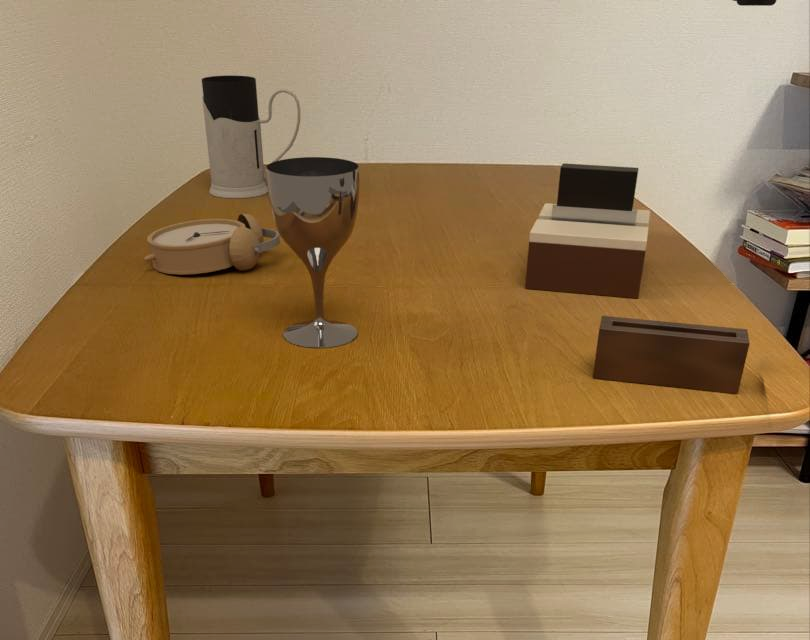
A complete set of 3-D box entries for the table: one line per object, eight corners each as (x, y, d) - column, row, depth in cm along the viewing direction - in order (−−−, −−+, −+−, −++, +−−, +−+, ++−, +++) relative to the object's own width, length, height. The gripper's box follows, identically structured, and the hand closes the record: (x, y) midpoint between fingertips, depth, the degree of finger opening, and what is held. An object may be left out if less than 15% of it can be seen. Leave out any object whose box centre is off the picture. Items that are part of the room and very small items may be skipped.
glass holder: (216, 184, 135) (204, 74, 127) (308, 185, 135) (302, 75, 126) (203, 197, 128) (190, 82, 120) (300, 199, 128) (293, 84, 119)
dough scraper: (627, 276, 99) (643, 167, 93) (626, 281, 98) (642, 171, 91) (547, 269, 101) (557, 162, 95) (545, 274, 99) (555, 166, 93)
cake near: (639, 282, 97) (648, 227, 94) (637, 298, 93) (647, 241, 90) (532, 273, 100) (536, 218, 96) (524, 288, 95) (529, 232, 92)
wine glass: (275, 349, 81) (261, 176, 72) (282, 318, 87) (270, 156, 79) (361, 349, 81) (358, 176, 72) (362, 318, 87) (359, 157, 79)
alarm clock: (153, 224, 105) (276, 199, 104) (166, 264, 108) (286, 241, 107) (135, 251, 96) (270, 225, 95) (150, 295, 98) (281, 269, 98)
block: (735, 379, 76) (747, 328, 73) (737, 394, 73) (749, 342, 71) (595, 364, 78) (602, 315, 76) (592, 378, 76) (599, 328, 73)
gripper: (866, -277, 62) (807, 7, 71) (831, -234, 76) (785, -1, 85) (754, -270, 64) (711, 7, 73) (740, -229, 78) (705, -1, 87)
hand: (751, 2), depth 79 cm, fingers open, 9 cm apart
